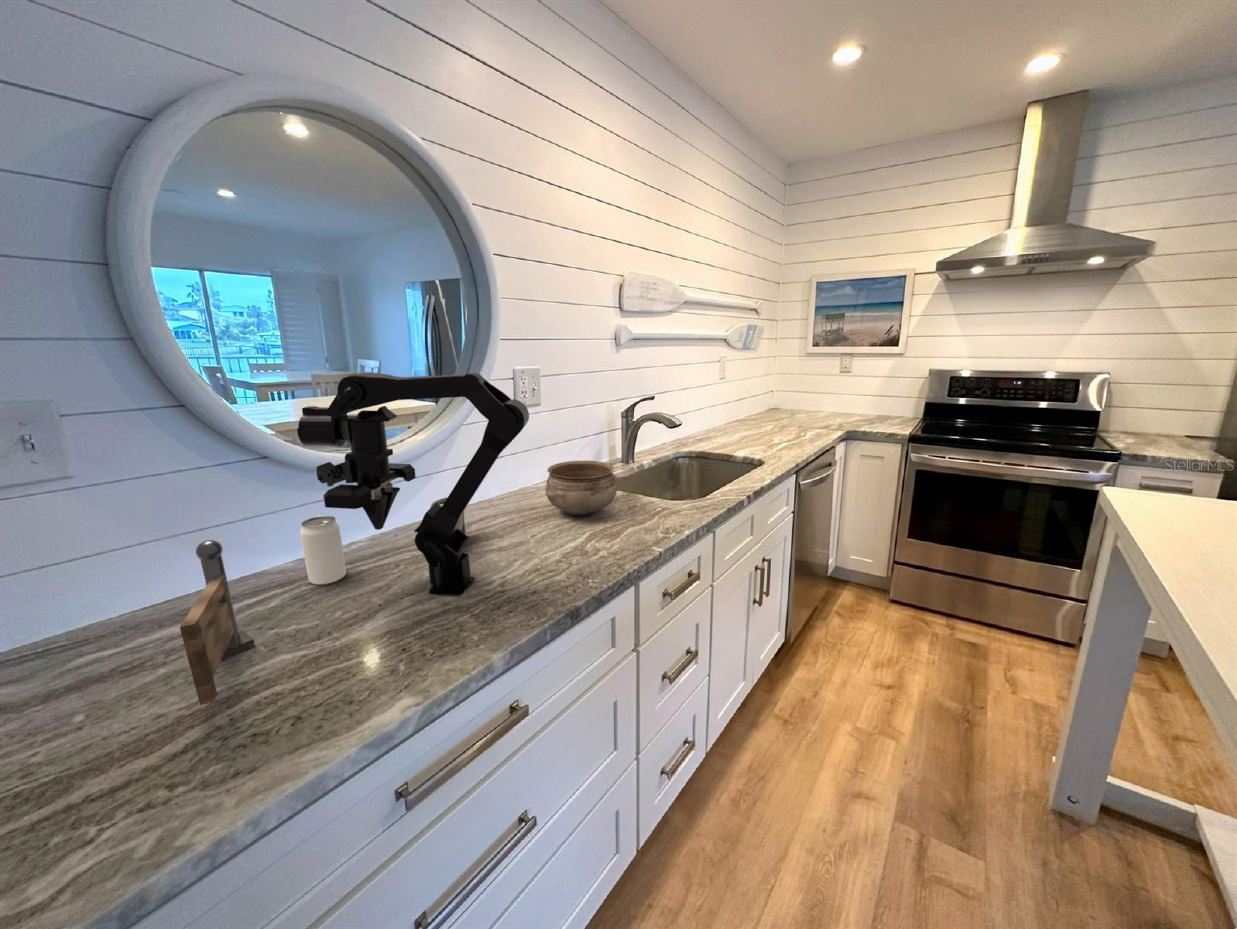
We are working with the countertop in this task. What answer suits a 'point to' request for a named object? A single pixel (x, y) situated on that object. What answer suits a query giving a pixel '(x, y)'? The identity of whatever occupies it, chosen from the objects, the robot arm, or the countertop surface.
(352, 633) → the countertop surface
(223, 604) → the gate
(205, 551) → the gate post
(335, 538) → the can
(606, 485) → the cooking pot
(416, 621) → the countertop surface
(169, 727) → the countertop surface
